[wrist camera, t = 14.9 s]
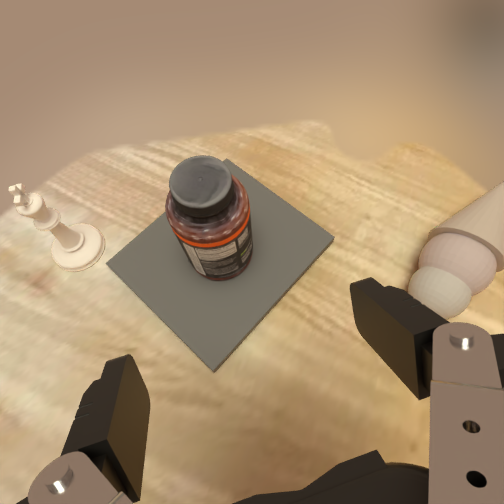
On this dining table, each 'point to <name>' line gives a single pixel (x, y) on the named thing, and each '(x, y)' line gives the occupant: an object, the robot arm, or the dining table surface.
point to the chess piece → (61, 232)
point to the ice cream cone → (461, 256)
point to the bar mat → (222, 291)
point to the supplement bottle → (210, 217)
